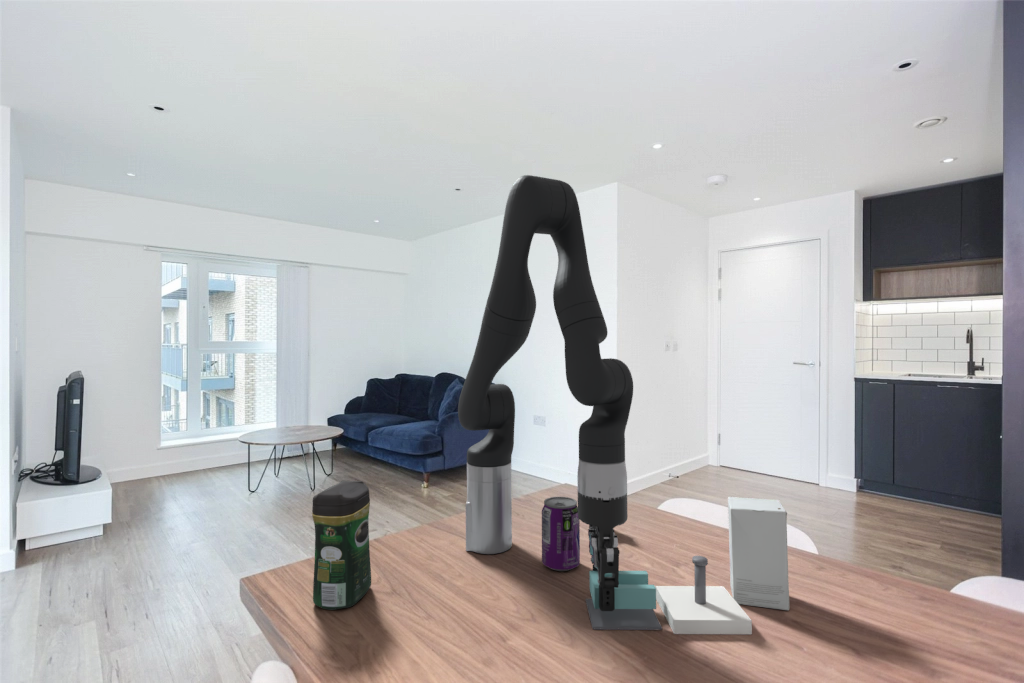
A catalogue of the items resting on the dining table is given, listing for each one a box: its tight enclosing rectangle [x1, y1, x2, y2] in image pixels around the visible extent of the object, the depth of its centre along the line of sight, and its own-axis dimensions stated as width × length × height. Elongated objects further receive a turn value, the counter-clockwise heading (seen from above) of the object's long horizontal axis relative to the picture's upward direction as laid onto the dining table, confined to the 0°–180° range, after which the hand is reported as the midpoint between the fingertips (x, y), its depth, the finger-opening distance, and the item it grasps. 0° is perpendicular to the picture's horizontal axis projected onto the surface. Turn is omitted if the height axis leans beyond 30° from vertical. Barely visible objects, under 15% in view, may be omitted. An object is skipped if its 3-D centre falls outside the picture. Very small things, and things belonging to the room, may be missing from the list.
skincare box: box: [727, 496, 790, 611], centre depth 81 cm, size 8×7×16 cm
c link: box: [588, 570, 657, 610], centre depth 76 cm, size 9×6×3 cm, turn 89°
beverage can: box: [541, 496, 581, 572], centre depth 93 cm, size 7×7×12 cm
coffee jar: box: [311, 479, 372, 611], centre depth 82 cm, size 10×8×19 cm
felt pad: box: [585, 598, 663, 631], centre depth 76 cm, size 10×8×1 cm
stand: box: [654, 555, 753, 635], centre depth 76 cm, size 11×10×9 cm
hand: (603, 598), depth 76 cm, fingers closed on c link, 5 cm apart
